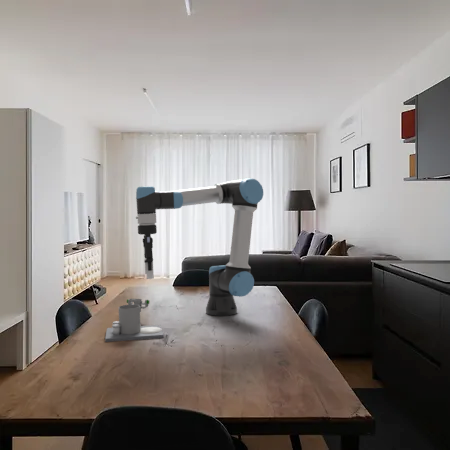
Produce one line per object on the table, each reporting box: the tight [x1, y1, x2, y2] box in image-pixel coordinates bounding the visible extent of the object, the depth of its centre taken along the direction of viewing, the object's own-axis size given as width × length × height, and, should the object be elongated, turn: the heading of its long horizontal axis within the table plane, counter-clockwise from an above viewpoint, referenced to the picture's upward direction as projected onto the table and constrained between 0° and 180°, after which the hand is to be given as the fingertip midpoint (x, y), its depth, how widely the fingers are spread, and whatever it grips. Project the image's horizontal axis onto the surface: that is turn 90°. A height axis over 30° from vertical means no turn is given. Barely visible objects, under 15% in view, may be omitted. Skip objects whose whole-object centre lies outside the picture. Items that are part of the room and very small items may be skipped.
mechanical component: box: [126, 298, 150, 313], centre depth 198 cm, size 3×10×10 cm, turn 78°
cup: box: [118, 304, 142, 334], centre depth 176 cm, size 8×8×10 cm
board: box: [104, 320, 165, 343], centre depth 177 cm, size 22×16×5 cm
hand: (149, 276), depth 180 cm, fingers open, 13 cm apart
